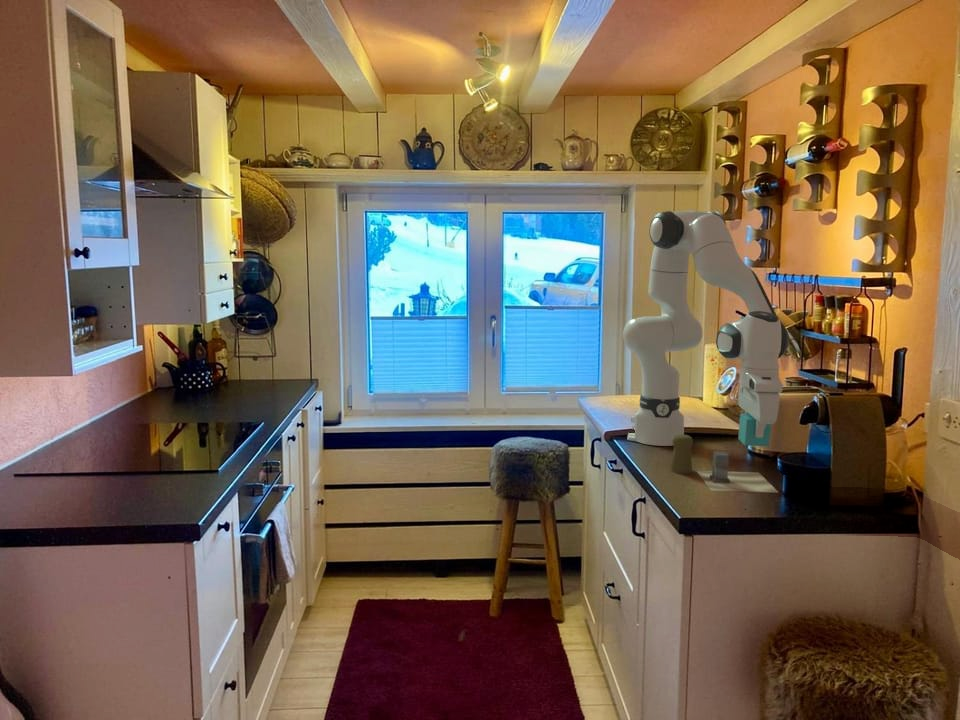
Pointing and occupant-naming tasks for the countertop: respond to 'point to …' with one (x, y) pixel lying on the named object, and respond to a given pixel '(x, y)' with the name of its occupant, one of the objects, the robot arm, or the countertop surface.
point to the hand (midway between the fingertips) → (754, 432)
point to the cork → (681, 454)
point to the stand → (733, 478)
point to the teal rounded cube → (752, 432)
